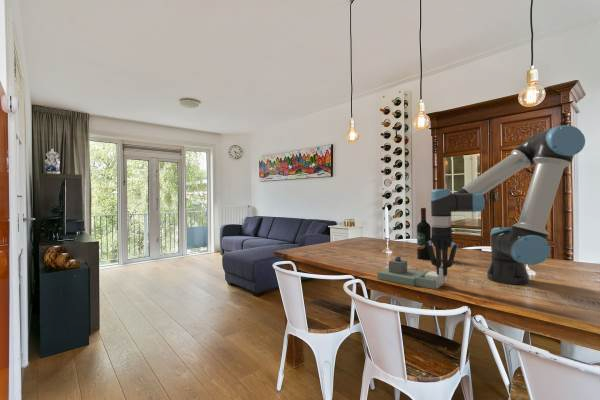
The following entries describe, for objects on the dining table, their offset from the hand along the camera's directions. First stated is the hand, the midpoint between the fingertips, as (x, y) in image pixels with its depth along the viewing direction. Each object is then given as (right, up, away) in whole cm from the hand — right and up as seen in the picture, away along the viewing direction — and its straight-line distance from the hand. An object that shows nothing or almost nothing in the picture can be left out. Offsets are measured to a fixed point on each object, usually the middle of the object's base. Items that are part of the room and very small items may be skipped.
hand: (442, 283), depth 124 cm
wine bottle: (+15, -1, +54) cm, 56 cm away
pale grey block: (-2, -2, +2) cm, 4 cm away
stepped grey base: (-9, -2, +10) cm, 14 cm away
